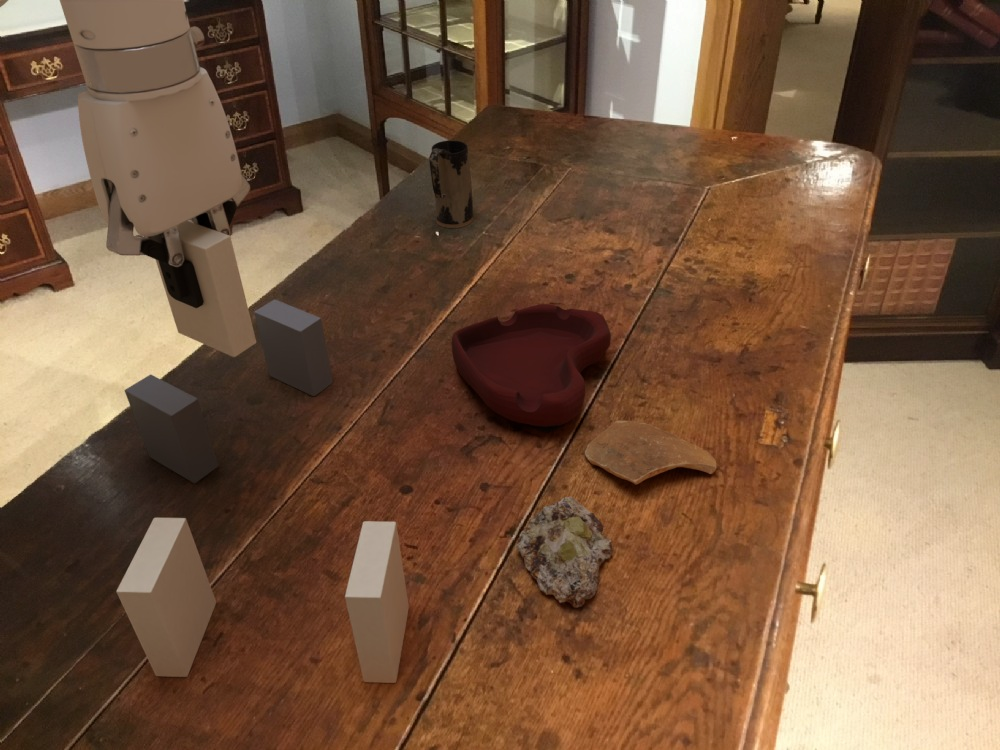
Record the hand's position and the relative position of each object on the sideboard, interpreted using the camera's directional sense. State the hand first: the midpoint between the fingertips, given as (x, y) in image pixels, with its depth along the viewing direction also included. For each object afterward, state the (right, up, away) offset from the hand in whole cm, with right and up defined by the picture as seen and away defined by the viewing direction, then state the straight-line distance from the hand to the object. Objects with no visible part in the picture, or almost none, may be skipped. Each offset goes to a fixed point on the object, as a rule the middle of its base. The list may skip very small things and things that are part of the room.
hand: (203, 291), depth 69 cm
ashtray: (+27, -8, +24) cm, 37 cm away
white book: (0, -4, +3) cm, 5 cm away
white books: (+7, -28, -2) cm, 29 cm away
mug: (+17, +15, +55) cm, 59 cm away
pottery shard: (+38, -15, +13) cm, 43 cm away
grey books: (-3, -11, +20) cm, 23 cm away
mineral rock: (+30, -23, +4) cm, 37 cm away
